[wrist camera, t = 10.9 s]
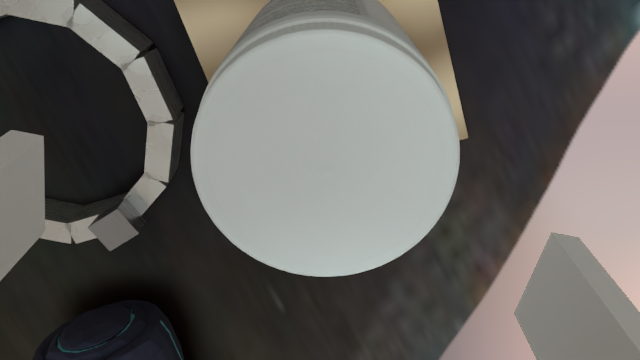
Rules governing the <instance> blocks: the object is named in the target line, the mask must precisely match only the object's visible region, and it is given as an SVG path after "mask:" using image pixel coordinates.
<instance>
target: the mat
mask: <svg viewBox="0 0 640 360" xmlns="http://www.w3.org/2000/svg"><path fill="white" fill-rule="evenodd" d="M270 1H271V0H174V2H175V4H176V7H177V9H178V11H179V14H180V16H181V19H182V21H183V23H184V26H185V28H186V30H187V33H188V35H189V38H190V40H191V42H192V45H193V47H194V49H195V52H196V54H197V57H198V59H199V61H200V64H201V66H202V68H203V71H204V73H205V76H206V78H207V80H208V83H209V82H210V80H211V78H212V76H213V75H214V73H215V72H216V70H217V69H218V67H219V65H220V64H221V63H222V61H223V60H224V58H225V57H226V56H227V54H228V53H229V52H230V50H231V49H232V47H233V46H234V45H235V43H236V42H237V41H238V39H239V38H240V37H241V35H242V34H243V33H244V31H245V30H246V29H247V27H248V26H249V25H250V23H251V22H252V21H253V19H254V18H255V17H256V15H257V14H258V13H259V12H260V10H261V9H262V8H263V7H264V6H265V5H266V4H267V3H268V2H270ZM378 1H379V2H380V3H381V4H383V5H384V6H385V7H386V8H387V10H388V11H389V12H390V13H391V14H392V15H393V17H394V18H395V19H396V21H397V22H398V23H399V25H400V26H401V27H402V28H403V30H404V31H405V32H406V34H407V35H408V36H409V38H410V39H411V40H412V42H413V43H414V44H415V46H416V47H417V48H418V50H419V51H420V52H421V54H422V55H423V56H424V58H425V59H426V61H427V62H428V64H429V65H430V66H431V68H432V69H433V71H434V72H435V74H436V75H437V77H438V78H439V80H440V82H441V84H442V85H443V87H444V89H445V92H446V94H447V96H448V99H449V101H450V104H451V108H452V112H453V116H454V119H455V122H456V125H457V130H458V136H459V140H463V139H466V138H468V134H467V130H466V125H465V121H464V116H463V112H462V107H461V103H460V98H459V94H458V89H457V85H456V81H455V76H454V72H453V67H452V63H451V58H450V54H449V49H448V45H447V40H446V36H445V32H444V27H443V23H442V18H441V14H440V9H439V5H438V0H378Z"/></svg>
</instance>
